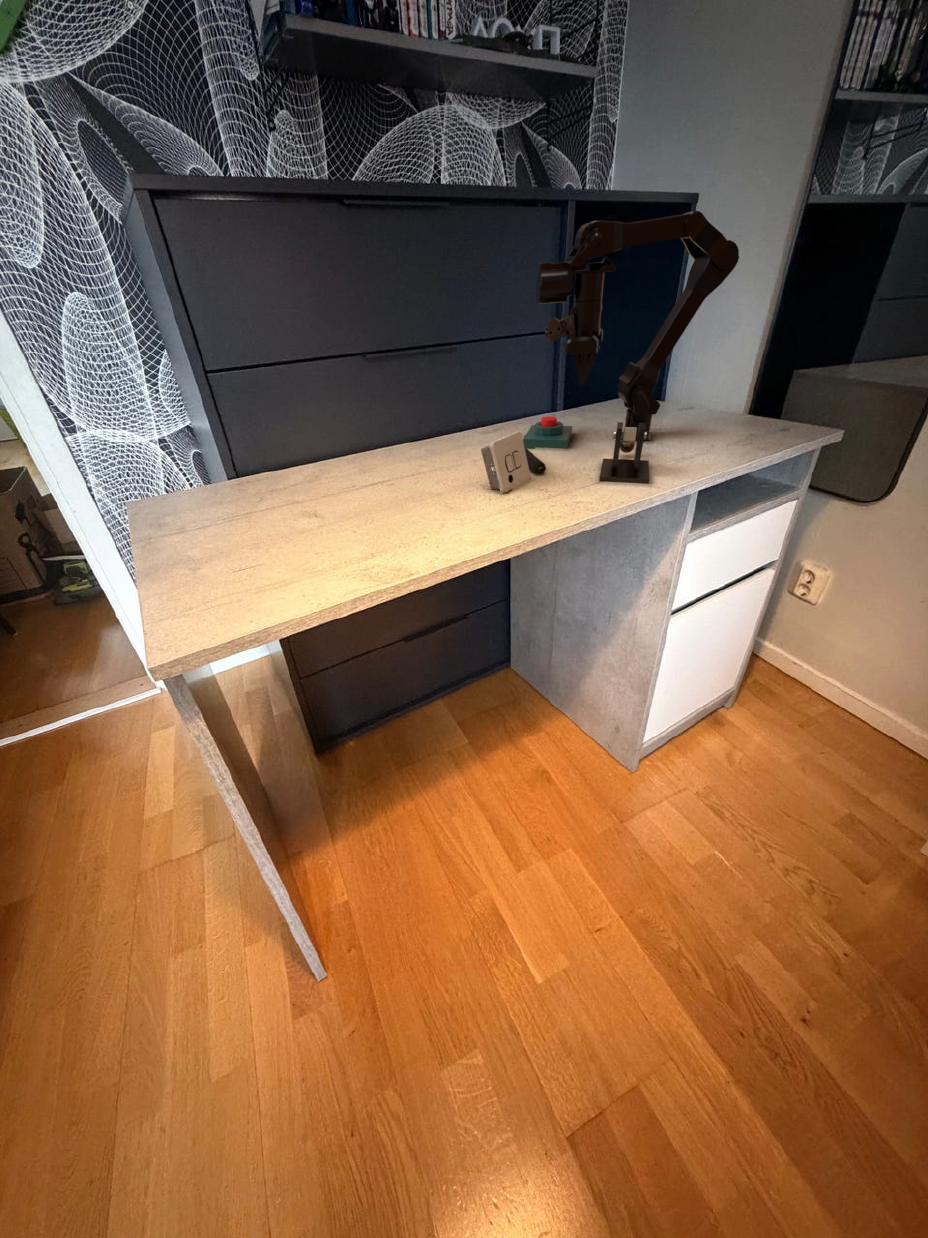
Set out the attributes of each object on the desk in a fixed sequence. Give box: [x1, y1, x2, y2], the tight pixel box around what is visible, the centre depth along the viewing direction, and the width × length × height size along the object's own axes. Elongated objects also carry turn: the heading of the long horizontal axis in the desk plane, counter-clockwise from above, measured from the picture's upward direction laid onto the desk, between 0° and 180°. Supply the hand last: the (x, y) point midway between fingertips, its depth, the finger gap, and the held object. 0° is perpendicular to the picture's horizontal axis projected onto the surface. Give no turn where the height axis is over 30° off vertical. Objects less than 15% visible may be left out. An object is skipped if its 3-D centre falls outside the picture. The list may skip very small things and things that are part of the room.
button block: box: [522, 420, 573, 450], centre depth 116 cm, size 12×10×4 cm
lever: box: [620, 426, 637, 454], centre depth 98 cm, size 14×3×3 cm, turn 164°
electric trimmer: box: [524, 447, 547, 473], centre depth 103 cm, size 4×16×3 cm, turn 16°
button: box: [540, 416, 558, 427], centre depth 114 cm, size 4×4×2 cm
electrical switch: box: [480, 431, 531, 494], centre depth 94 cm, size 9×5×9 cm, turn 141°
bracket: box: [599, 421, 650, 485], centre depth 94 cm, size 11×9×9 cm
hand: (581, 383), depth 109 cm, fingers closed
